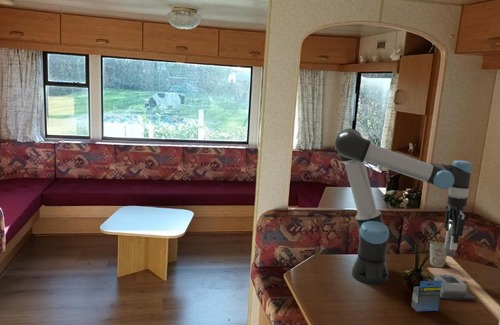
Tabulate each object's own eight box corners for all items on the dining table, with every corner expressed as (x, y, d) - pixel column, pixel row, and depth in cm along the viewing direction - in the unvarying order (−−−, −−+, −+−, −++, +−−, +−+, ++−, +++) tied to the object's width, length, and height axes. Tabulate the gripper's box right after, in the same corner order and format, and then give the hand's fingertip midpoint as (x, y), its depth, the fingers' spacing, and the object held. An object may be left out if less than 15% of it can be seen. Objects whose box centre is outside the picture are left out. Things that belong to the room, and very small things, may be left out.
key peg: (457, 257, 180) (462, 222, 177) (446, 257, 180) (451, 221, 177) (452, 253, 184) (457, 218, 181) (441, 252, 184) (446, 218, 181)
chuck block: (439, 298, 162) (441, 287, 161) (424, 282, 176) (426, 271, 175) (474, 300, 162) (476, 288, 161) (457, 283, 176) (458, 272, 175)
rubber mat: (438, 280, 178) (439, 279, 178) (427, 268, 190) (427, 267, 190) (466, 282, 178) (466, 280, 178) (453, 270, 190) (453, 268, 190)
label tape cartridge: (432, 305, 157) (436, 275, 154) (438, 311, 153) (442, 280, 151) (410, 306, 155) (414, 276, 153) (416, 312, 151) (420, 281, 149)
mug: (425, 265, 194) (428, 245, 192) (431, 256, 204) (433, 237, 202) (444, 270, 189) (447, 249, 187) (449, 261, 199) (452, 242, 198)
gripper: (477, 202, 169) (469, 255, 173) (456, 191, 185) (449, 240, 190) (459, 201, 169) (451, 254, 173) (440, 191, 185) (433, 239, 190)
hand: (450, 247), depth 181 cm, fingers closed on key peg, 4 cm apart
